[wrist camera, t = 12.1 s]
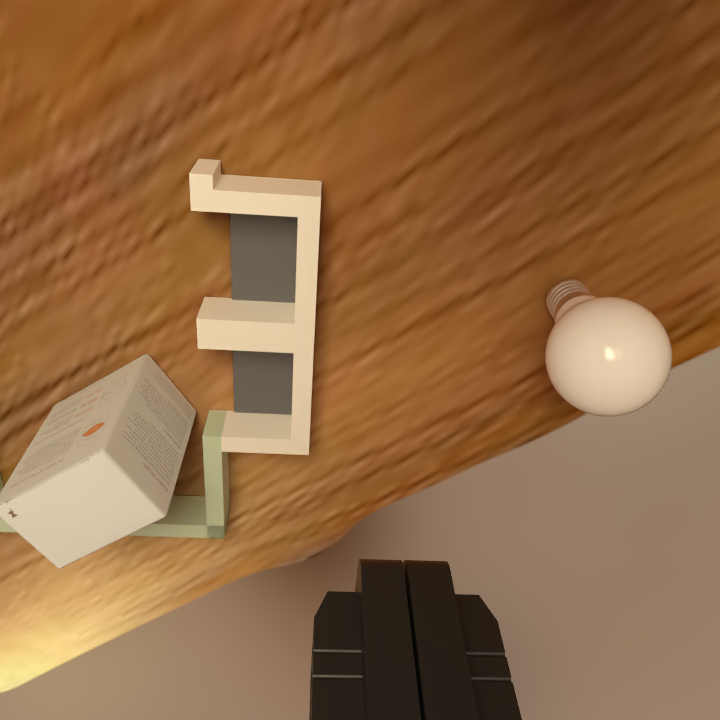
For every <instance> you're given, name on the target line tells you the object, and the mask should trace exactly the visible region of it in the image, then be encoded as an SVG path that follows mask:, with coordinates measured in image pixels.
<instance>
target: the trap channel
mask: <svg viewBox="0 0 720 720" xmlns="http://www.w3.org/2000/svg"><path fill="white" fill-rule="evenodd" d="M189 179H190V200H191V211H204V212H221V213H230V229H231V278H232V298H218V297H204V300H203V303H202V305H201V308H200V311H199V313H198V316H197V319H196V320H197V340H198V349H216V350H233V375H234V411H229V410H209V413H208V417H207V421H206V424H205V428H204V432H203V435H202V440H203V460H204V480H205V496H182V495H172V499H171V502H170V506H169V509H168V513H167V515H166V517H164V518H162V519H160V520H158V521H156V522H154V523H152V524H150V525H148V526H146V527H144V528H141V529H140V530H138V531H136V532H133V533H131V534H129V535H127V536H157V537H190V538H225V533H226V528H227V522H228V517H229V511H230V495H229V457H228V452H244V453H270V454H297V455H309V439H310V418H311V397H312V376H313V355H314V334H315V313H316V292H317V271H318V250H319V229H320V208H321V187H322V181H314V180H299V179H283V178H268V177H253V176H237V175H222V174H221V160H210V159H198V161H197V162H196V164H195V165H194V167H193V168H192V170H191V171H190V173H189ZM3 488H4V487H3V483H2V479H1V475H0V493H1V491H2V489H3ZM0 532H16V531H15V530H14V529H13V528H12V527H11V526H10V525H8V524H7V523H6V522H5V521H4V520H3V519H2V518H1V517H0Z"/></svg>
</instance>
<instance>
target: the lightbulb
mask: <svg viewBox="0 0 720 720" xmlns="http://www.w3.org/2000/svg"><path fill="white" fill-rule="evenodd" d="M546 306H547V309H548V311H549V312H550V314H551V316H552V317H553V319H554V321H555V324H554V327H553V328H552V330H551V332H550V335H549V337H548V340H547V344H546V350H545V364H546V369H547V373H548V376H549V379H550V381H551V383H552V385H553V386H554V388H555V389H556V391H557V392H558V393H559V395H560V396H561V397H562V398H563V399H564V400H565V401H567V402H568V403H569V404H570V405H572V406H573V407H575V408H577V409H579V410H581V411H583V412H586V413H589V414H593V415H598V416H619V415H624V414H628V413H631V412H634V411H636V410H638V409H640V408H642V407H643V406H645V405H646V404H648V403H649V402H650V401H651V400H653V398H655V397H656V396H657V395H658V393H659V392H660V391H661V389H662V388H663V387H664V385H665V383H666V381H667V379H668V376H669V373H670V370H671V364H672V349H671V344H670V340H669V337H668V335H667V332H666V330H665V328H664V327H663V325H662V324H661V322H660V321H659V320H658V319H657V317H656V316H655V315H654V314H653V313H651V312H650V311H649V310H648V309H646V308H645V307H643V306H641V305H640V304H638V303H636V302H633V301H630V300H627V299H623V298H618V297H599V298H597V297H595V296H593V295H592V293H591V292H590V291H589V289H588V288H587V287H586V285H585V284H584V283H582V282H581V281H578V280H574V279H567V280H563V281H561V282H559V283H557V284H555V285H554V286H553V287H552V288H551V289H550V291H549V292H548V294H547V297H546Z"/></svg>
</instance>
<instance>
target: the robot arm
mask: <svg viewBox="0 0 720 720" xmlns="http://www.w3.org/2000/svg"><path fill="white" fill-rule="evenodd" d="M309 715H310V716H309V720H522V719H521V715H520V710H519V706H518V703H517V699H516V695H515V691H514V686H513V683H511V675H510V670H509V666H508V662H507V658H506V657H505V650H504V646H503V642H502V638H501V634H500V630H499V625H498V622H497V620H496V618H495V617H494V616H493V614H492V613H491V611H490V610H489V609H488V607H487V606H486V604H485V603H484V602H483V600H482V599H481V597H480V596H479V595H460V594H458V595H457V594H455V592H454V587H453V582H452V576H451V571H450V567H449V564H448V562H446V561H414V560H404V562H403V563H402V561H401V560H372V559H359V562H358V569H357V579H356V589H355V592H330V591H328V592H327V594H326V596H325V598H324V600H323V602H322V604H321V605H320V607H319V609H318V612H317V613H316V615H315V617H314V631H313V647H312V663H311V682H310V714H309Z"/></svg>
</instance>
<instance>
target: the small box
mask: <svg viewBox="0 0 720 720" xmlns="http://www.w3.org/2000/svg"><path fill="white" fill-rule="evenodd" d="M195 416H196V410H195V409H194V408H193V406H192V405H191V404H190V403H189V402H188V401H187V399H186V398H185V397H184V396H183V395H182V393H181V392H180V391H179V390H178V389H177V387H176V386H175V385H174V384H173V383H172V381H171V380H170V379H169V378H168V377H167V376H166V374H165V373H164V372H163V371H162V370H161V369H160V367H159V366H158V365H157V364H156V363H155V361H154V360H153V359H152V358H151V357H150V355H148V354H144V355H143V356H141V357H139V358H138V359H136V360H134V361H132V362H131V363H129V364H127V365H125V366H124V367H122V368H120V369H118V370H116V371H115V372H113V373H111V374H109V375H107V376H106V377H104V378H102V379H100V380H99V381H97V382H95V383H93V384H91V385H90V386H88V387H86V388H84V389H83V390H81V391H79V392H77V393H76V394H74V395H72V396H70V397H68V398H67V399H65V400H63V401H61V402H59V403H57V404H56V405H55V406H54V407H53V409H52V410H51V412H50V413H49V415H48V417H47V418H46V420H45V421H44V423H43V424H42V426H41V428H40V429H39V431H38V433H37V434H36V436H35V437H34V439H33V441H32V442H31V444H30V446H29V447H28V449H27V450H26V452H25V453H24V455H23V457H22V459H21V460H20V462H19V463H18V465H17V466H16V468H15V470H14V471H13V473H12V475H11V476H10V478H9V480H8V481H7V483H6V485H5V486H4V488H3V489H2V491H1V493H0V517H1V518H2V519H3V520H4V521H5V522H6V523H7V524H8V525H10V526H11V527H12V528H13V529H14V530H15V531H16V532H18V533H19V534H20V535H21V536H22V537H23V538H24V539H25V540H27V541H28V542H29V543H30V544H31V545H32V546H34V547H35V548H36V549H37V550H38V551H39V552H40V553H41V554H43V555H44V556H45V557H46V558H47V559H48V560H49V561H51V562H52V563H53V564H54V565H56V566H57V567H58V568H60V569H61V568H63V567H65V566H67V565H69V564H71V563H73V562H75V561H77V560H79V559H81V558H83V557H85V556H87V555H89V554H91V553H93V552H95V551H97V550H99V549H101V548H103V547H105V546H107V545H109V544H111V543H113V542H115V541H117V540H119V539H121V538H123V537H125V536H127V535H129V534H131V533H133V532H136V531H138V530H140V529H141V528H144V527H146V526H148V525H150V524H152V523H154V522H156V521H158V520H160V519H162V518H164V517H166V515H167V513H168V509H169V506H170V502H171V499H172V495H173V492H174V488H175V485H176V481H177V478H178V475H179V471H180V468H181V464H182V461H183V457H184V454H185V450H186V447H187V443H188V440H189V437H190V433H191V430H192V426H193V423H194V419H195Z"/></svg>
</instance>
